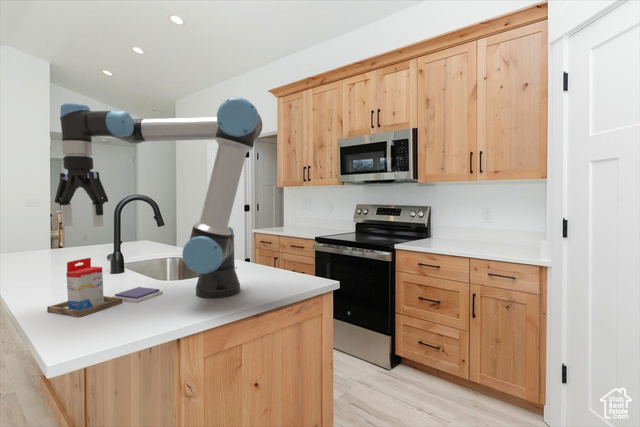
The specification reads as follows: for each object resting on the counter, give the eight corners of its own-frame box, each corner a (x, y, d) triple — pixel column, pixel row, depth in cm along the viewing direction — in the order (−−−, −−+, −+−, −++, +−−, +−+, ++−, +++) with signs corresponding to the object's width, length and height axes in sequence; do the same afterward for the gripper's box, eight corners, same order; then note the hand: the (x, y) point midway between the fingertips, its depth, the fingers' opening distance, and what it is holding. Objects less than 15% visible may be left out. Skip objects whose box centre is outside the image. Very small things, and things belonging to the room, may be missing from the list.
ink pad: (162, 293, 127) (162, 288, 126) (136, 302, 116) (136, 297, 116) (139, 291, 130) (138, 286, 130) (111, 299, 120) (111, 294, 120)
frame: (122, 302, 117) (122, 298, 116) (79, 317, 103) (79, 312, 103) (91, 298, 122) (91, 294, 121) (47, 311, 109) (47, 307, 108)
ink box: (80, 311, 108) (77, 263, 107) (67, 310, 109) (65, 262, 108) (104, 303, 116) (102, 257, 115) (92, 301, 117) (90, 257, 116)
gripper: (119, 155, 109) (122, 225, 110) (63, 159, 118) (67, 224, 119) (95, 152, 102) (100, 228, 103) (38, 157, 111) (42, 226, 112)
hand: (82, 226), depth 111 cm, fingers open, 13 cm apart
